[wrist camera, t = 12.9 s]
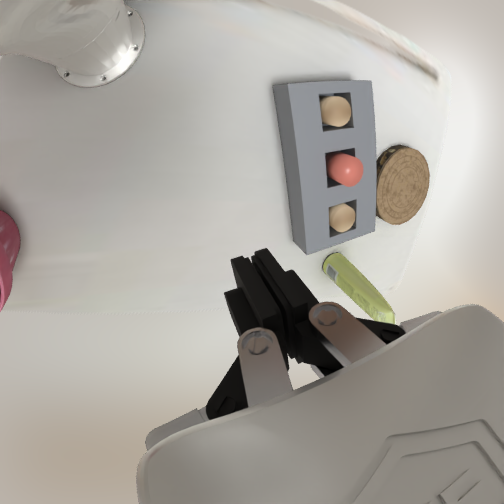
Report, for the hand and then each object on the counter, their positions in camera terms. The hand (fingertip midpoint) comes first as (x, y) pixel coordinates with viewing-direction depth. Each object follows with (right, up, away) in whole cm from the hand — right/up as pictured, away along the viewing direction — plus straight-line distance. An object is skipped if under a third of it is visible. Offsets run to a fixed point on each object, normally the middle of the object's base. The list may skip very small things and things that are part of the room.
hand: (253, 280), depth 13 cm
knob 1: (+10, +23, +25) cm, 35 cm away
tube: (+16, -1, +42) cm, 45 cm away
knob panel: (+11, +16, +30) cm, 36 cm away
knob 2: (+13, +8, +34) cm, 38 cm away
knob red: (+12, +15, +28) cm, 34 cm away
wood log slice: (+28, +15, +38) cm, 50 cm away
